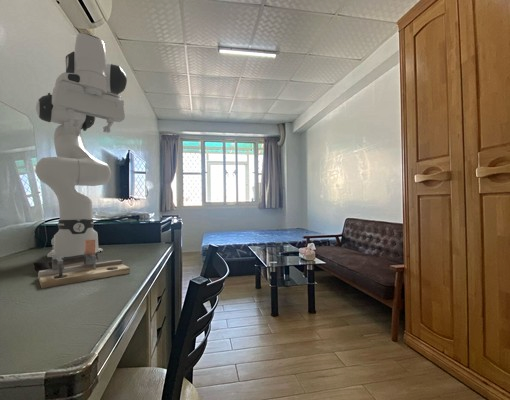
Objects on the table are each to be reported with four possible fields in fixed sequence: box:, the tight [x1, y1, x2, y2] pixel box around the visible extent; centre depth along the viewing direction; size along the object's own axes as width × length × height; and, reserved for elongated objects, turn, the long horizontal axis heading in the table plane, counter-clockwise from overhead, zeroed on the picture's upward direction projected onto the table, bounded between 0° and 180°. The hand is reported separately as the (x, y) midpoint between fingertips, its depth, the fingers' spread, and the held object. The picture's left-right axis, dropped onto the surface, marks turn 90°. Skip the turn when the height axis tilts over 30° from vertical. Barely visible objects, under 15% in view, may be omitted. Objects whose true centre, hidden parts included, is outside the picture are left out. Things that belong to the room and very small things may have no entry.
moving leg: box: [84, 239, 97, 270], centre depth 76 cm, size 8×2×8 cm, turn 42°
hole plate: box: [37, 256, 131, 289], centre depth 75 cm, size 12×20×6 cm, turn 132°
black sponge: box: [32, 253, 100, 273], centre depth 86 cm, size 16×8×4 cm, turn 154°
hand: (91, 129), depth 85 cm, fingers open, 8 cm apart
